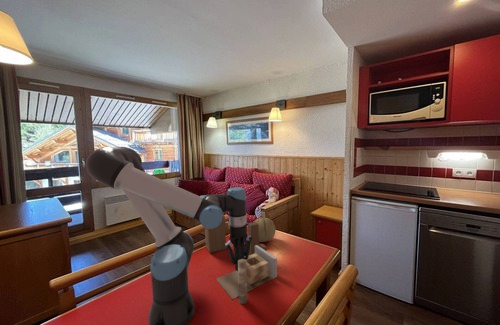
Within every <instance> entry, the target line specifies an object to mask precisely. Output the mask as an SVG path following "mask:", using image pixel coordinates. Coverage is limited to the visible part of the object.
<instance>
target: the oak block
mask: <svg viewBox="0 0 500 325" xmlns="http://www.w3.org/2000/svg"><path fill="white" fill-rule="evenodd" d="M246 270H247V282H248V283H249V284H250V285H252V284H254V283H256V282H258V281H260V280H262V279H264V278H266V277H268V276H269V263H268V262H267V261H266V260H264V259H263V258H261V257H260V256H259V255H257V254H256V253H255V254H252V255H249V256H248V259H247V260H246Z"/></svg>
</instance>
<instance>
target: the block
mask: <svg viewBox="0 0 500 325" xmlns="http://www.w3.org/2000/svg"><path fill="white" fill-rule="evenodd" d="M226 231H227V230H226V216H225V215H224V214H223V218H222V222H221V224H220V225H219V226H218V227H216V228H214V229H207V228H205V227H204V234H205V235H204V237H205V246H206V248H207V251H208V252H209V253H210V254H211V253H217V252H220V251H225V250H226V249H227V247H226V246H225V245H224V244H225V243H227V239H226V238H227V237H226V236H227V235H226Z"/></svg>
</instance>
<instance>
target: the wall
mask: <svg viewBox="0 0 500 325" xmlns="http://www.w3.org/2000/svg"><path fill="white" fill-rule="evenodd" d="M255 253H256V254H257V255H259V256H260V257H261V258H263V259H264V260H266V261H267V262H268V263H269V274H270V275H271V276H273V277H274V279H276V278H278V277H277V275H278V257H276V256H275V255H273V254H271V253H270V252H268V250H267V251H265V250H264V249H262V248H261V247H259V246H258V245H255ZM275 277H276V278H275Z"/></svg>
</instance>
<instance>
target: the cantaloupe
mask: <svg viewBox="0 0 500 325" xmlns="http://www.w3.org/2000/svg"><path fill="white" fill-rule="evenodd" d="M254 222H256V223H257V224H258V225H259V243H260V242H261V243H266V242H270V241H272V240H273V238H275V234H276V225H275V223H274V221H273V220H272V219H270V218H268V217H264V216H263V215H260V217H258V218H256V220H254Z"/></svg>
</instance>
